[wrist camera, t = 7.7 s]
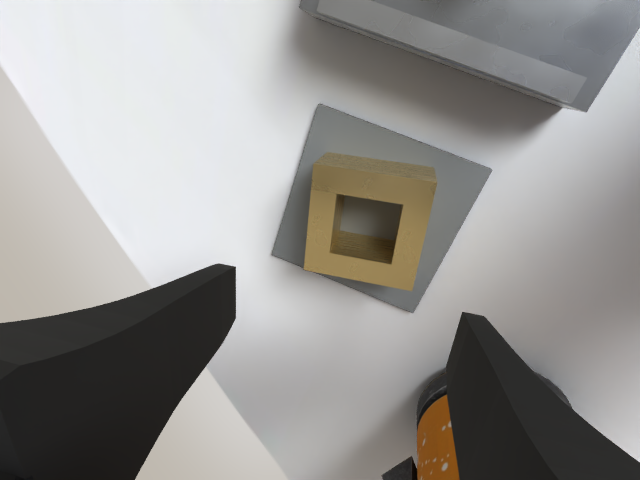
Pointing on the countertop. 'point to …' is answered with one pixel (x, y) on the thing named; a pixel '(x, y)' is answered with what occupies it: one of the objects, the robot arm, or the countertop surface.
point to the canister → (437, 436)
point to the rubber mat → (378, 216)
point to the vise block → (503, 39)
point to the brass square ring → (362, 250)
